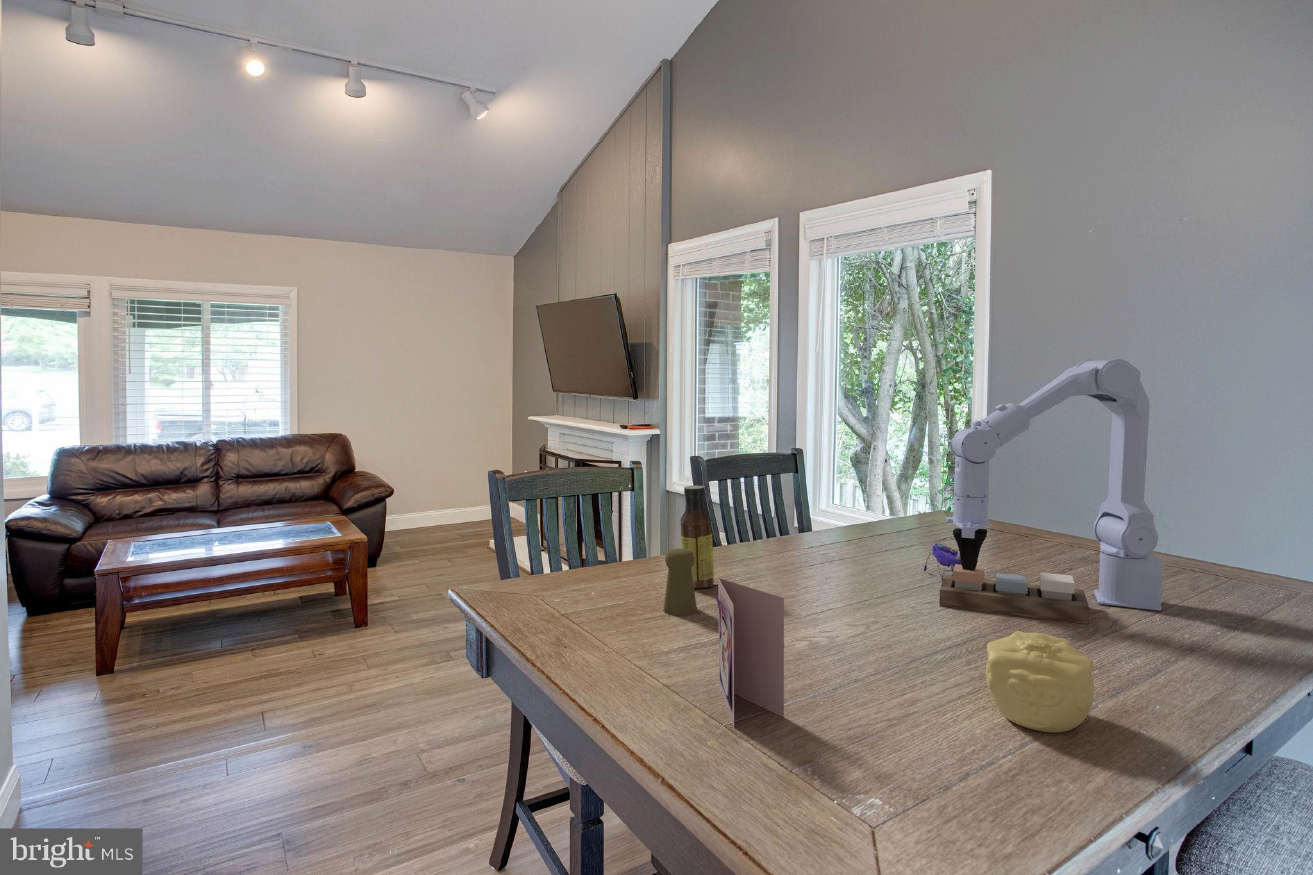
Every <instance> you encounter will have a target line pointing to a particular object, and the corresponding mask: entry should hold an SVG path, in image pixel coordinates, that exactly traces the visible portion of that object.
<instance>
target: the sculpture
mask: <svg viewBox="0 0 1313 875" xmlns="http://www.w3.org/2000/svg"><path fill="white" fill-rule="evenodd" d="M986 650H987V662H986V667H985V680H986V685H987V689H988V691H989V694H990V697H991V699H992V701H993V703H994V705H995V706H996V708H997V710H998V711H999V712H1000V713H1001V714H1002V715H1003V716H1004V717H1005V718H1006V719H1008V720H1009V721H1011V722H1013V724H1015V725H1018V726H1021V727H1023V728H1026V729H1029V730H1033V731H1038V732H1044V733H1052V734H1053V733H1064V732H1067V731H1068V732H1069V731H1070V730H1073V729H1075V728H1077V727H1078V726H1080V725H1081V723H1083V722H1084V720H1085V719H1086V718H1087V716H1088V715H1089V714H1090V711H1091V709H1092V706H1093V702H1094V699H1095V683H1094V677H1093V674H1092V673H1093V672H1092V670H1093V669H1094V662H1093V661H1092V660H1091V659H1090V658H1089V657H1088V656H1087V655H1085V654H1083V653H1082V652H1080V651H1079V650H1077V649H1076V648H1075V647H1074V646H1072V644H1071V643H1070V642H1069V641H1068V639H1066V638H1063V637H1062V638H1060V637H1056V636H1053V635H1051V634H1047V633H1041V632H1024V631H1021V630H1016V631H1014V632H1013V633H1011V634H1010V635H1008V636H1004V637H1002V638H998V639H995V640H992V641H990V642H988V643H987V646H986Z"/></svg>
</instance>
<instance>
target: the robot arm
mask: <svg viewBox="0 0 1313 875" xmlns="http://www.w3.org/2000/svg"><path fill="white" fill-rule="evenodd" d="M1141 373H1142V372H1141V370H1139V369H1138V367H1135V366H1134V365H1133V364H1131V363H1130V362H1128V361H1127V360H1125V359H1122V358H1121V359H1120V358H1115V359H1101V360H1100V359H1099V360H1098V359H1097V360H1095V359H1086V360H1082V361H1080V362H1078V364H1076V366H1072V367H1070V368H1067V369H1066V370H1064V372H1062V373H1061V374H1060V375H1058V376H1057V377H1056V378H1054V379H1053V380H1051V381H1050V382H1049V383H1047V384H1046V385H1045V386H1043V387H1042V388H1040V389H1039V390H1038V391H1036V392H1034V393H1033V394H1031V395H1030V396H1029V397H1027V398H1026V399H1025V400H1023V401H1022V402H1020V403H1018V404H1016V403H1010V402H1009V403H1006V404H1003V403H999V404H998V405H997V406H994V409H995V411H993V412H992V413H990V414H988V415H987V416H985V417H984V418H982V419H980V420H979V419H978V420H975V421H973V422H972V428H971V427H966V428H961V429H960V430H958V431H957V432H956V433H955V434H954V437H953V438H952V441H951V442H950V443H949V449H950V451H951V454H953V456H954V457H955V460H954V481H953V482H954V484H953V485H954V486H953V488H954V489H953V515H952V516H947V517H946V518H945V519H946V520H945V521H946V523H952V524H954V525H955V526H957V527H955V528H953V530H952V536H953V538H954V541H955V540H956V541H955V542H956V545H957V547H958V553H959V555H960V559H961V564H962V568H963V569H965V570H975V569H976V566H978V562H979V555H980V551H981V548H982V545H983V544H984V542H985V540H986V539H987V536H988V529H986V527H988V526H989V525H990V520H989V495H990V494H989V488H990V485H989V484H990V460H992V459H993V458H994V456H995V455H996V453H997V449H1000V448H1001V447H1003V446H1004V445H1006V444H1007V443H1009V442H1011V441H1012V440H1014V439H1015V438H1017V437H1019V436H1020V435H1021V434H1023V433H1025V432H1027V431H1029V429H1030V426H1031V420H1033V419H1034V418H1036V417H1038V416H1039V415H1040V416H1041V415H1042V414H1043V413H1045V412H1047V411H1048V410H1050V409H1052V408H1053V407H1055V406H1057V405H1059V404H1060V403H1063V402H1064V401H1066V400H1068V399H1069V398H1072V397H1075V396H1078V397H1079V396H1087V397H1089V398H1093V399H1095V400H1097V401H1098V402H1100V404H1102V405H1103V406H1105V407H1106V408H1107V409H1108V410H1109V411H1111V414H1112V415H1111V433H1110V434H1111V435H1110V436H1111V437H1110V450H1109V452H1110V454H1109V457H1110V458H1109V470H1108V472H1109V474H1108V488H1107V489H1108V490H1107V498H1106V499H1105V501H1103V502H1102V503H1101V504H1100V506H1099V511H1098V512H1099V513H1098V516H1097V517H1096V520H1095V521H1094V524H1093V526H1092V527H1093V529H1092V531H1093V535H1094V537H1095V538H1096V540H1097V541H1098V542H1099V549H1100V551H1099V554H1100V556H1099V575H1098V576H1099V577H1098V579H1099V580H1098V589H1093V593H1094V596H1095V598H1096V603H1097V604H1098V605H1099V604H1100V605H1105V606H1113V607H1115V606H1116V607H1124V608H1132V609H1139V610H1140V609H1141V610H1142V609H1143V610H1149V611H1150V610H1151V611H1159V612H1160V611H1161V612H1162V596H1163V577H1164V575H1163V574H1164V568H1163V560H1162V558H1161V556H1157V555H1150V554H1151V553H1152V552H1154V551H1155V550H1156V548H1157V545H1158V542H1159V535H1158V534H1159V533H1158V532H1157V529H1156V527H1155V524H1154V522H1155V520H1154V518H1155V517H1154V516H1155V515H1154V514H1153V512H1152V511H1151V509H1150V508H1149V506H1147V503H1145V491H1146V474H1147V472H1146V471H1147V458H1148V457H1147V455H1148V437H1149V419H1150V399H1149V397H1148V395H1147V393H1146V390H1145V388H1144V387H1143V384H1142V382H1141Z"/></svg>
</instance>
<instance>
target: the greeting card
mask: <svg viewBox="0 0 1313 875" xmlns="http://www.w3.org/2000/svg"><path fill="white" fill-rule="evenodd" d="M717 579H718V595H717V594H716V593H715V591H713V594H714V597H715V599H716V602H717V608H718V687H719V689H720V692H721V696H722V695H723V696H722V699H723V698H724V699H723V701H724V704H725V707H726V710H727V712H728V715H729V718H730V721H731V724H732V726H733V728H735V695H736V696H738V697H740V698H742V699H745V700H747V701H748V702H751V703H753V704H755V705H757V706H759V707H761V708H764V709H766V710H768V711H770V712H773V713H774V714H776V715H778V716H781V717H782V718H784V717H785V711H784V710H785V708H784V707H785V598H784V597H782V596H779V595H777V594H776V595H775V594H773V593H769V592H765V591H762V590H760V589H756V588H753V587H751V586H750V587H749V586H746V585H744V584H740V583H737V582H734V581H730V580H727V579H724V578H721V577H718V578H717Z"/></svg>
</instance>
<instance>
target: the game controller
mask: <svg viewBox="0 0 1313 875" xmlns="http://www.w3.org/2000/svg"><path fill="white" fill-rule="evenodd" d="M943 540H945V538H942V539H940V540H939V541H937V542H935V543H934V545H932V549H930V550H931V551H930V552H929V554H928V557H927V559H926V562H925V565H924V567H923V572H925V571H927V570H928V567H927V564H928V560H929V558H930V555H933V556H934V558H935V559H936V563H937V565H941V566H943V567H947V568H949V569H946V570H944V571H943V573H942V574H941V571H940V566H937V567H938V573H939V575H940V579H941V581H943V578H944V574H945V572H952V573H953V570H954V567H955V564H958V565H962V564H961V559H960V554H959V551H958V550H956V549H955V548H952V547H948V546H946V545H944V544H942V543H941V541H943ZM951 540H953V541H955V542H956V540H955V538H954V539H953V538H951Z"/></svg>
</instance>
